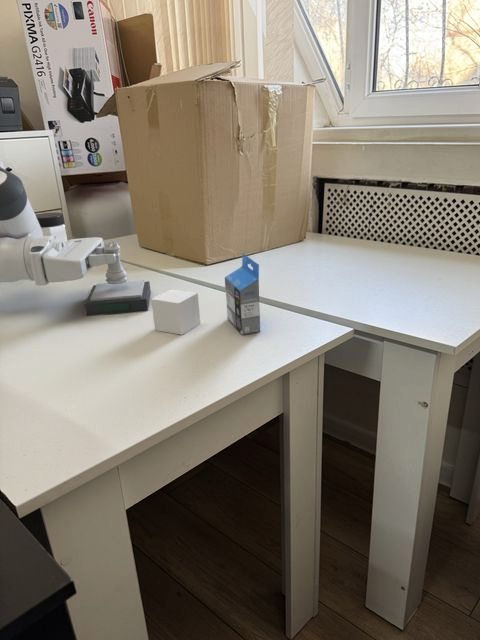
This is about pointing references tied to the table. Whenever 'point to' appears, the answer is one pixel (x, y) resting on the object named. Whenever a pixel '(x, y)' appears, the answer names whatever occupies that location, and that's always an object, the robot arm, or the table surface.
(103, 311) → the scale
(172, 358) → the table surface
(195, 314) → the white cube
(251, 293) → the ink cartridge box
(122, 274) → the rook chess piece
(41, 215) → the jar
